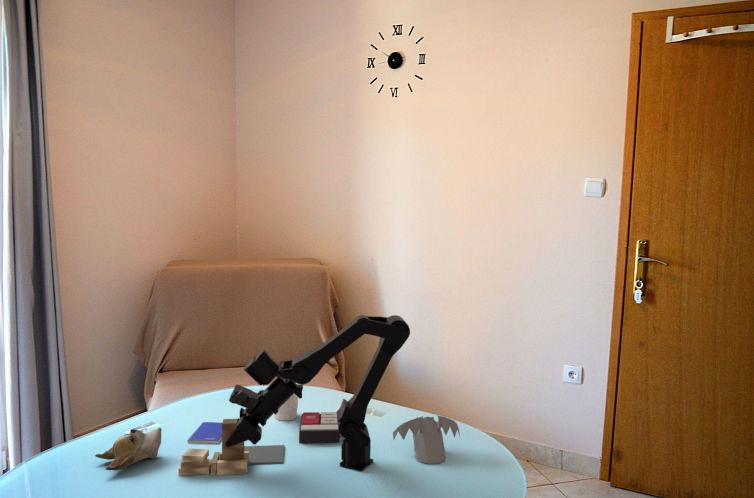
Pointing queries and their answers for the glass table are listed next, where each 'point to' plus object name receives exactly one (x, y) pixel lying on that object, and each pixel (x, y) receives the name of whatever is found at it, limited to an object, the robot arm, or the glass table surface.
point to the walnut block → (236, 450)
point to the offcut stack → (195, 462)
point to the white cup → (288, 409)
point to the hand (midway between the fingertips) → (227, 442)
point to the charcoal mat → (265, 454)
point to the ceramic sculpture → (132, 448)
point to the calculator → (319, 428)
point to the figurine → (428, 437)
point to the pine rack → (229, 465)
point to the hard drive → (207, 433)
